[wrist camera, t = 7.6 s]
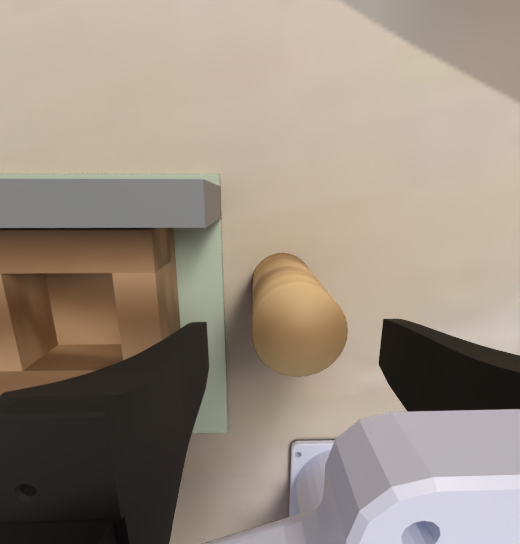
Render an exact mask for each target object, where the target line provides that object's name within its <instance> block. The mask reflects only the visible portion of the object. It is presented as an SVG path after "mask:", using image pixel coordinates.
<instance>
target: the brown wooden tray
mask: <svg viewBox="0 0 520 544" xmlns="http://www.w3.org/2000/svg"><path fill="white" fill-rule="evenodd" d="M180 328H181V327H180V313H179V299H178V285H177V272H176V258H175V244H174V230H173V228H0V395H1V394H2V393H4V392H8V391H14V390H19V389H24V388H29V387H34V386H39V385H44V384H49V383H54V382H58V381H62V380H66V379H69V378H73V377H77V376H80V375H84V374H87V373H90V372H93V371H96V370H99V369H102V368H104V367H107V366H110V365H113V364H116V363H118V362H121V361H123V360H125V359H127V358H130V357H132V356H134V355H136V354H138V353H140V352H142V351H144V350H146V349H148V348H149V347H151V346H153V345H155V344H156V343H158V342H160V341H162V340H163V339H165V338H166V337H168V336H170V335H171V334H173V333H174V332H176V331H177V330H179V329H180Z"/></svg>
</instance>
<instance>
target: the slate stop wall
mask: <svg viewBox="0 0 520 544" xmlns="http://www.w3.org/2000/svg"><path fill="white" fill-rule="evenodd" d="M220 219H221V190H220V186H218V185H216V184H214V183H211V182H209V181H207V180H204V179H0V228H206V227H208V226H209V225H211V224H213V223H214V222H216V221H218V220H220Z"/></svg>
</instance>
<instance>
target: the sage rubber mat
mask: <svg viewBox="0 0 520 544" xmlns="http://www.w3.org/2000/svg"><path fill="white" fill-rule="evenodd" d="M0 179H204V180H207V181H209V182H211V183H214V184H216V185H218V186H220V174H18V173H0ZM173 230H174V244H175V258H176V272H177V285H178V299H179V313H180V327H181V328H182V327H184V326H185V325H187V324H189V323H191V322H207V336H208V354H209V372H208V378H207V384H206V389H205V393H204V396H203V399H202V402H201V406H200V409H199V412H198V415H197V418H196V421H195V425H194V428H193V431H192V434H198V433H228V412H227V380H226V349H225V317H224V285H223V253H222V222H221V219H220V220H218V221H216V222H214V223H213V224H211V225H209V226H208V227H206V228H173Z"/></svg>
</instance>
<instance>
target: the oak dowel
mask: <svg viewBox="0 0 520 544" xmlns="http://www.w3.org/2000/svg"><path fill="white" fill-rule="evenodd" d="M347 331H348V328H347V322H346V318H345V316H344V313H343V311H342V310H341V308H340V307H339V305H338V304H337V303H336V302H335V300H334V299H333V298H332V297H331V296H330V294H329V293H328V292H327V291H326V289H325V288H324V287H323V286H322V284H321V283H320V282H319V281H318V279H317V278H316V277H315V276H314V275H313V273H312V272H311V271H310V270H309V268H308V267H307V266H306V265H305V263H304V262H303V261H302V260H301V259H299V258H298V257H296V256H294V255H291V254H287V253H278V254H274V255H271V256H269V257H267V258H265V259H264V260H263V261H262V262H261V263H260V264H259V265H258V266H257V268H256V270H255V272H254V275H253V297H252V340H253V345H254V348H255V351H256V353H257V355H258V356H259V358H260V359H261V360H262V362H263V363H264V364H265V365H267V366H268V367H269V368H270V369H272V370H274V371H276V372H278V373H280V374H283V375H287V376H294V377H301V376H308V375H312V374H316V373H318V372H320V371H322V370H324V369H326V368H327V367H329V366H330V365H331V364H332V363H333V362H334V361H335V360H336V359H337V358H338V357H339V356H340V354H341V352H342V351H343V349H344V346H345V343H346V340H347Z"/></svg>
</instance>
